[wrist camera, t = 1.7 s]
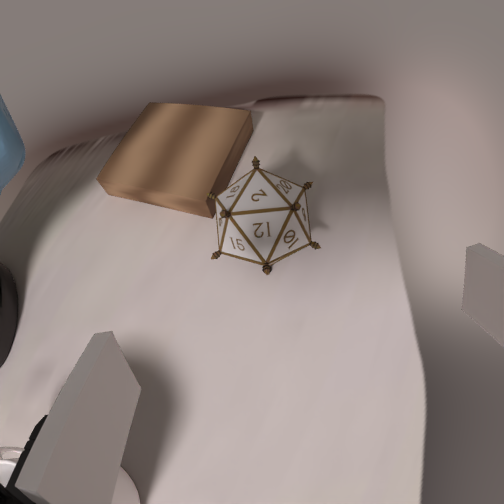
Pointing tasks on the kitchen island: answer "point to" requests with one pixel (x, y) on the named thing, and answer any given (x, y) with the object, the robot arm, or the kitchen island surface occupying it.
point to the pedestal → (178, 156)
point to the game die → (262, 218)
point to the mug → (124, 493)
